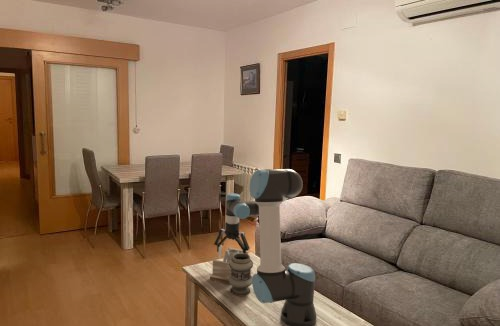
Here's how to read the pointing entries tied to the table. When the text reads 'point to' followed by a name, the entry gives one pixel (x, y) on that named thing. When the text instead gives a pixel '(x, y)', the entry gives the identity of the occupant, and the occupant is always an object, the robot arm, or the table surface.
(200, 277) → the table surface
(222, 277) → the shelf
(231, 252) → the mug
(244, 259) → the apothecary jar
